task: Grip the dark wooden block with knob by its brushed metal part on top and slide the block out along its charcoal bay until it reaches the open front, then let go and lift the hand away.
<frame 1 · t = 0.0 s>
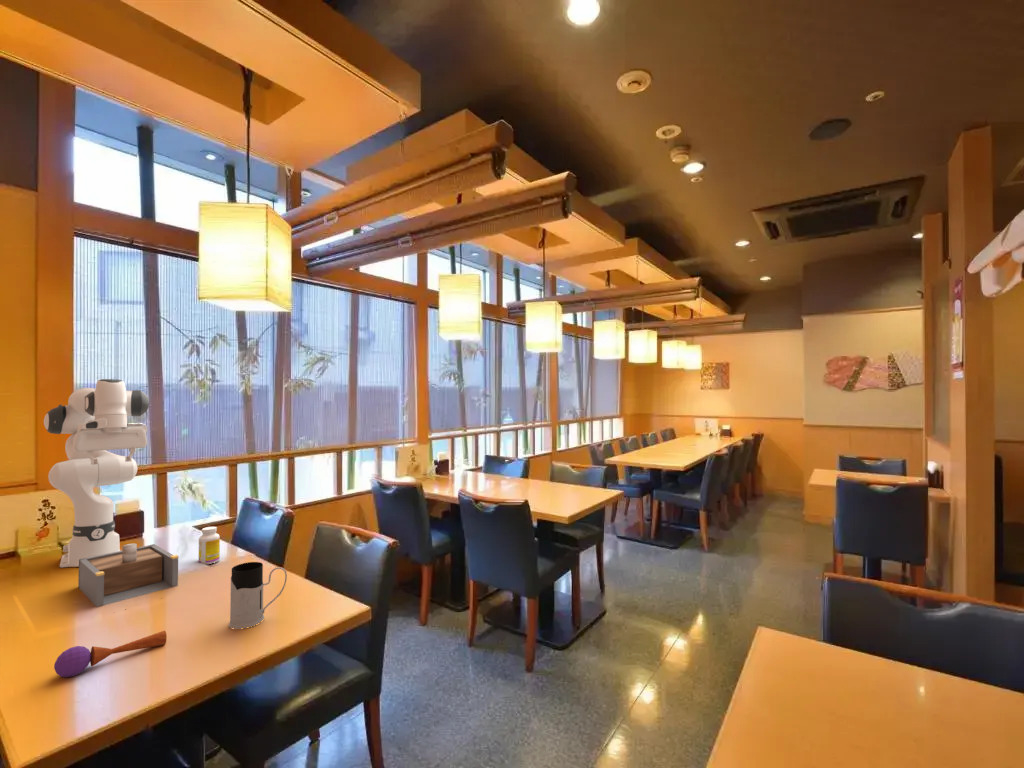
hand: (111, 462, 168), 39 cm above the table, tool pointing down, fingers open, 8 cm apart
supplement bottle: (209, 563, 178), on the table
glass holder: (258, 621, 131), on the table
wooden block with knob: (125, 563, 155), point 8 cm above the table, slide at 0.0 cm
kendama: (113, 662, 111), on the table
bay: (128, 590, 153), on the table
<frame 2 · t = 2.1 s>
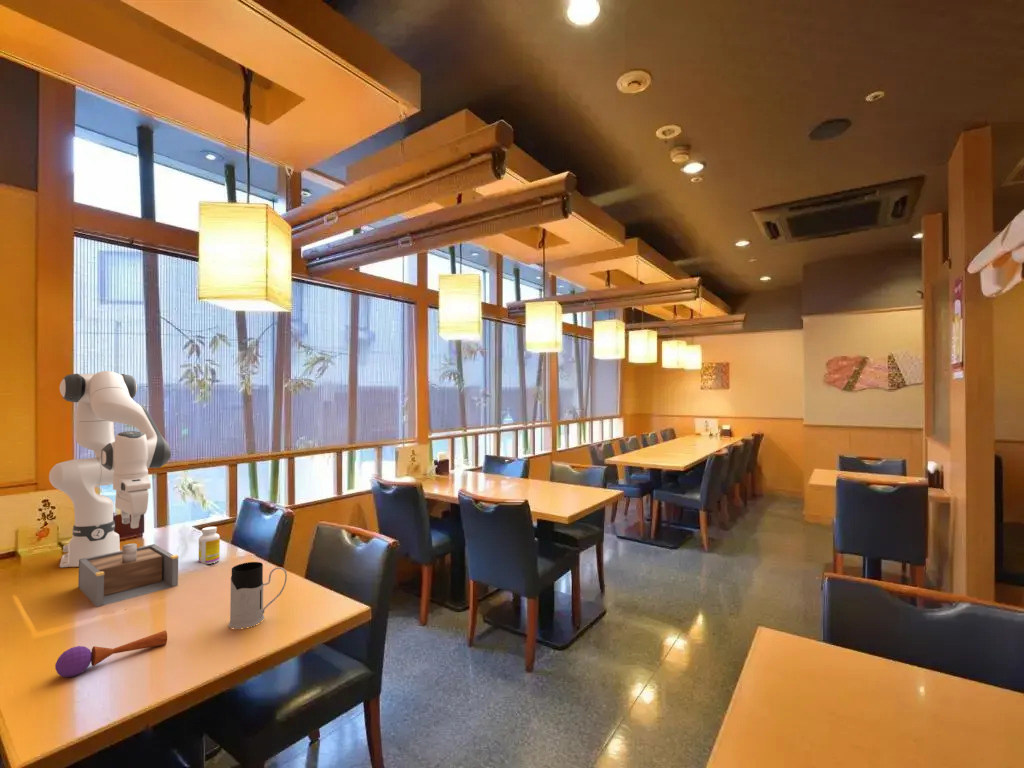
hand: (130, 525, 153), 21 cm above the table, tool pointing down, fingers open, 8 cm apart
nothing on the table moved.
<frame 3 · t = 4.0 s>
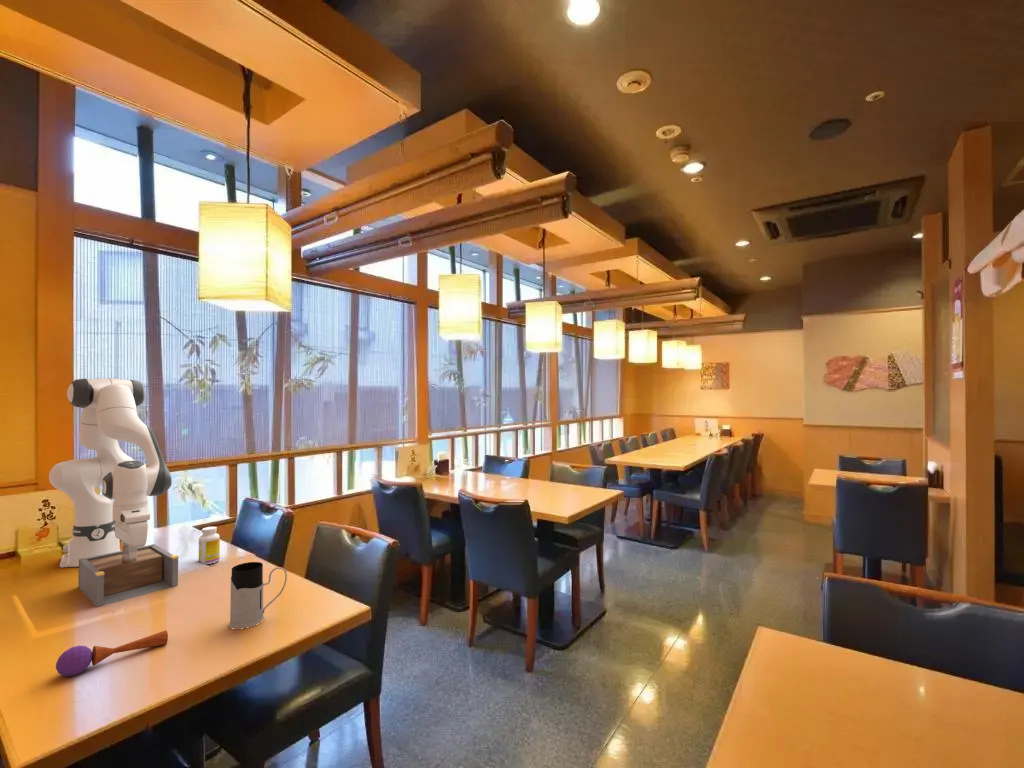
hand: (129, 555, 152), 11 cm above the table, tool pointing down, fingers closed on wooden block with knob, 4 cm apart
wooden block with knob: (125, 563, 155), point 8 cm above the table, slide at 0.0 cm, touching gripper
everything else where it was.
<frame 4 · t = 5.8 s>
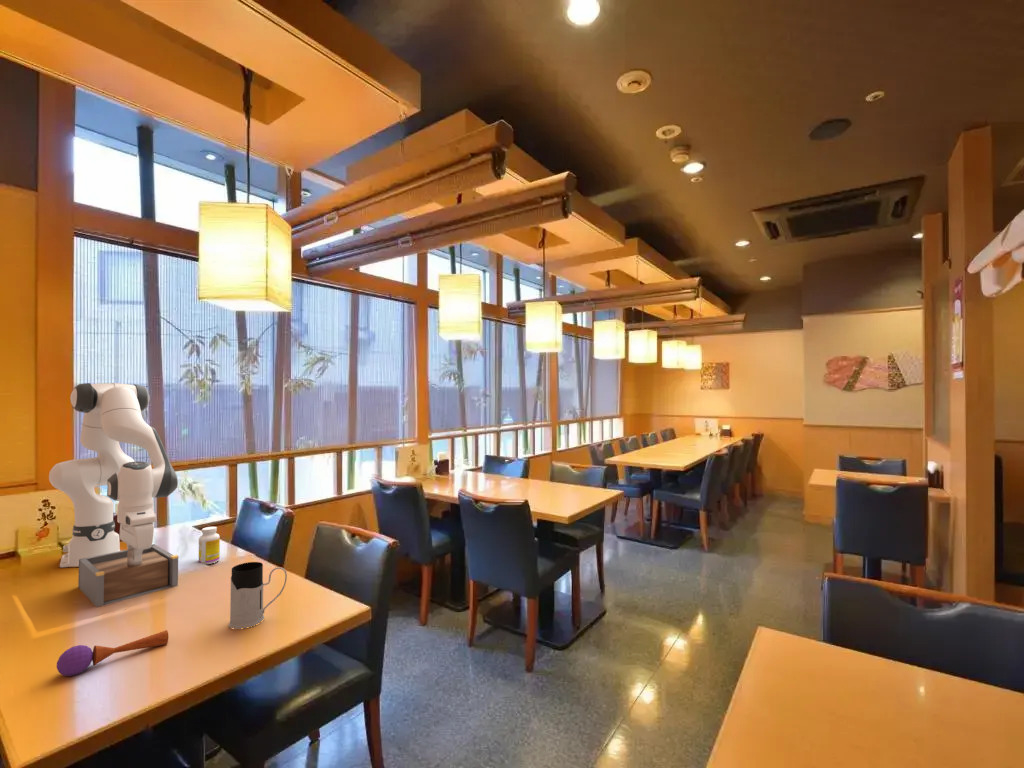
hand: (134, 558, 149), 11 cm above the table, tool pointing down, fingers closed on wooden block with knob, 4 cm apart
wooden block with knob: (130, 566, 151), point 8 cm above the table, slide at 5.7 cm, touching gripper
everything else where it was.
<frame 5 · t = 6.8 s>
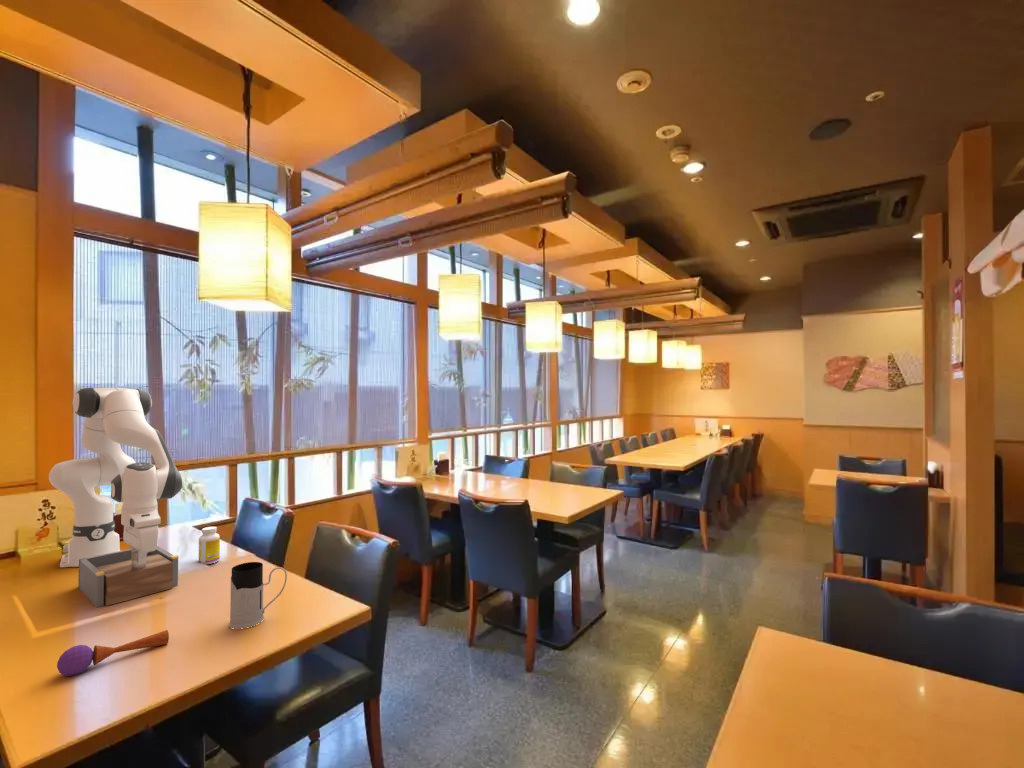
hand: (138, 561, 146), 11 cm above the table, tool pointing down, fingers closed on wooden block with knob, 4 cm apart
wooden block with knob: (134, 569, 149), point 8 cm above the table, slide at 10.0 cm, touching gripper
everything else where it was.
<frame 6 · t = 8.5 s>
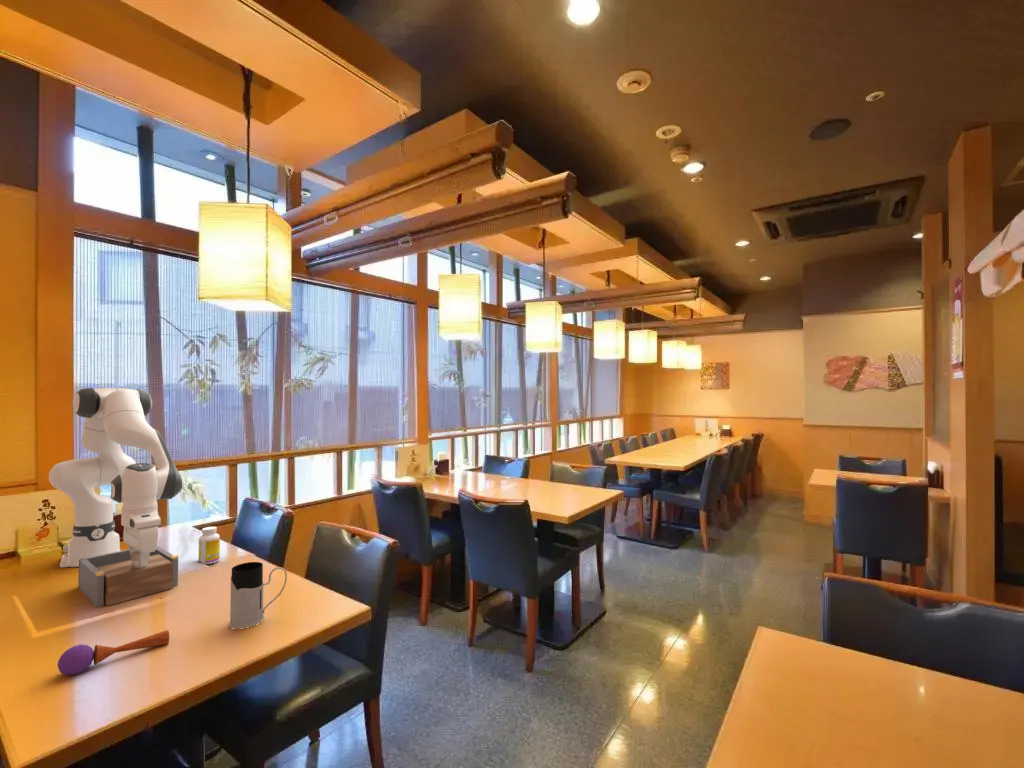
hand: (138, 562, 146), 11 cm above the table, tool pointing down, fingers open, 8 cm apart
wooden block with knob: (134, 569, 149), point 8 cm above the table, slide at 10.1 cm
everything else where it was.
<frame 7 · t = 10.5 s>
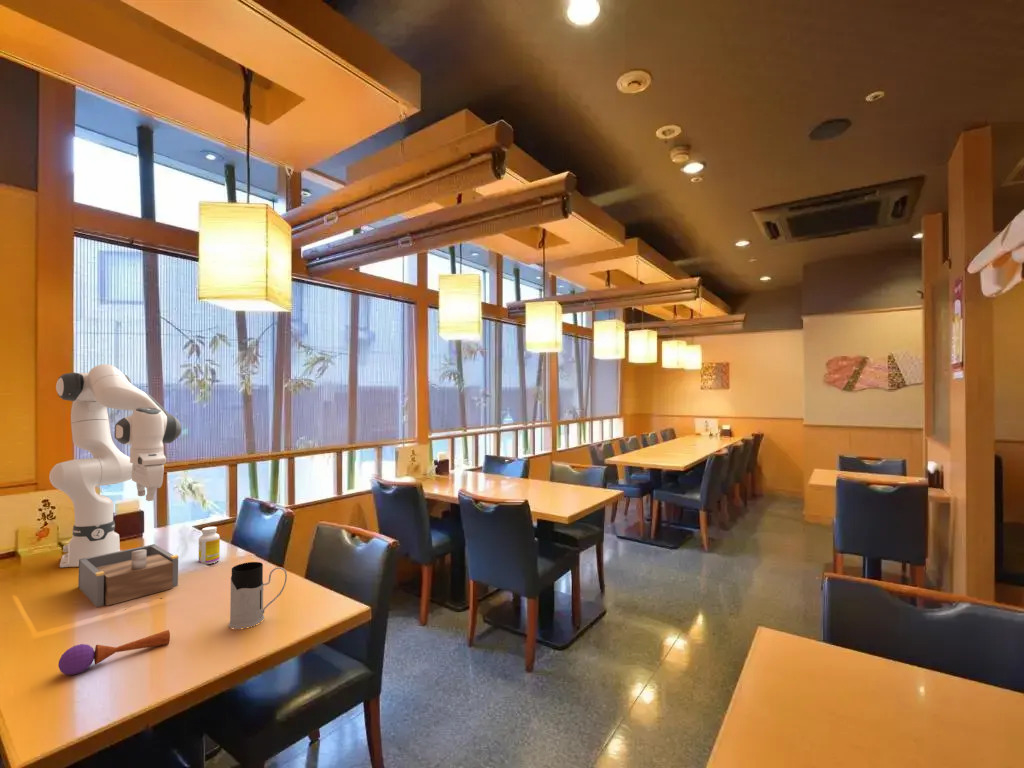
hand: (145, 498, 159), 28 cm above the table, tool pointing down, fingers open, 8 cm apart
nothing on the table moved.
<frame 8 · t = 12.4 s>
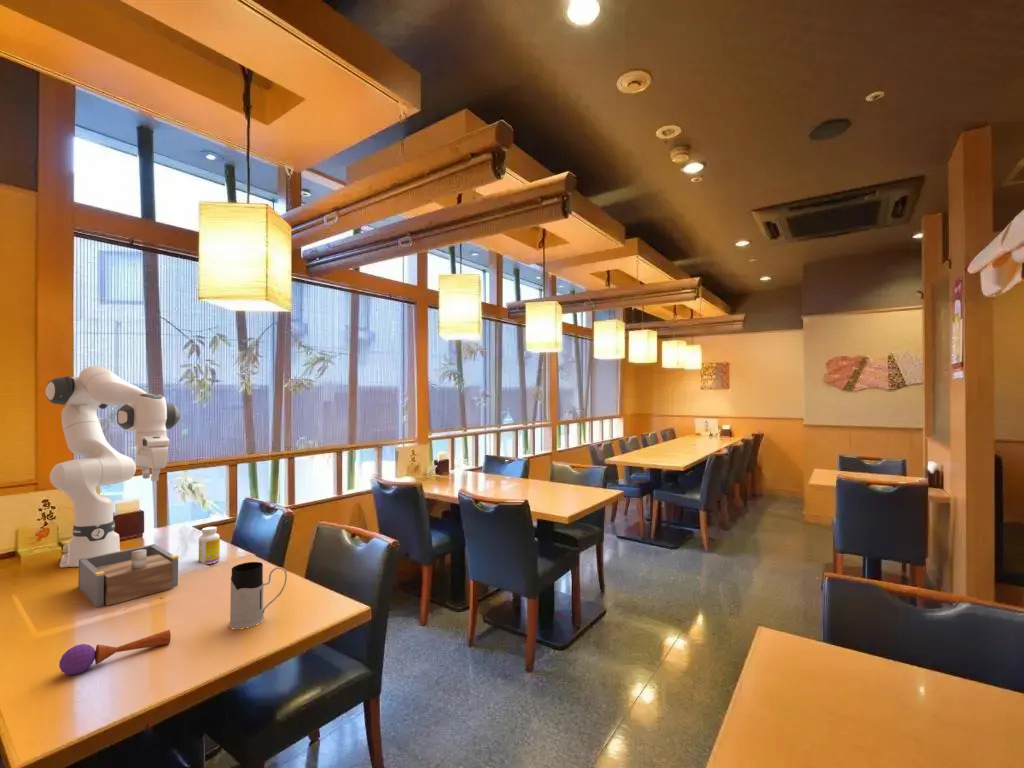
hand: (150, 479, 166), 33 cm above the table, tool pointing down, fingers open, 8 cm apart
nothing on the table moved.
at the end: wooden block with knob slide at 10.1 cm; the gripper is holding nothing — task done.
